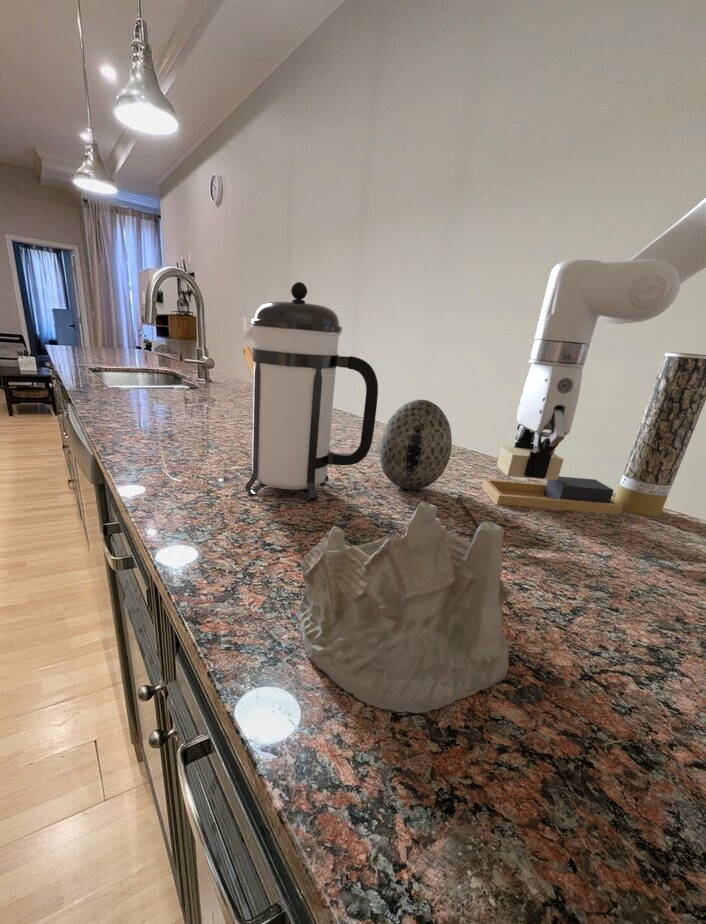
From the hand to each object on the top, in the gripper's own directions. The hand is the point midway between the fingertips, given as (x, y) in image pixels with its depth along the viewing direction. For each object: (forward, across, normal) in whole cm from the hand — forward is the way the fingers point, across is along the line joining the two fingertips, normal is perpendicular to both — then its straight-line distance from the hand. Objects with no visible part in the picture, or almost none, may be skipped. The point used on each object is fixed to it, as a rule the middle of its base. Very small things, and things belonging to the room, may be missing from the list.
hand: (526, 470), depth 73 cm
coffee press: (+6, -3, +37) cm, 38 cm away
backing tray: (+5, 0, -5) cm, 7 cm away
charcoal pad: (+5, 0, -9) cm, 10 cm away
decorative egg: (+6, +2, +18) cm, 19 cm away
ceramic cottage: (+6, -40, +25) cm, 48 cm away
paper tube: (+5, -1, -19) cm, 20 cm away
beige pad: (0, 0, 0) cm, 0 cm away
